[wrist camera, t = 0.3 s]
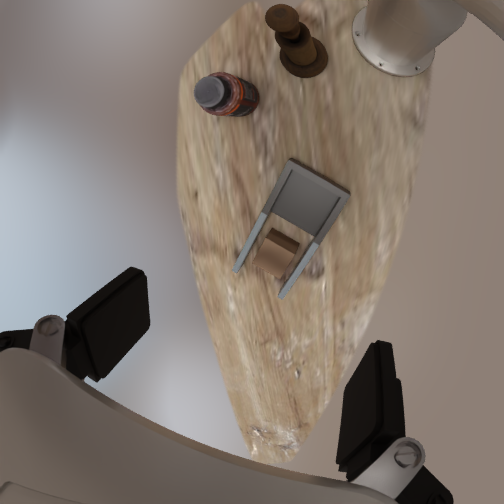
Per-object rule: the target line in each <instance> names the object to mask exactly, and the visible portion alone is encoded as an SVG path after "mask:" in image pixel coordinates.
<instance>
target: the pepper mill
mask: <svg viewBox="0 0 504 504" xmlns="http://www.w3.org/2000/svg"><path fill="white" fill-rule="evenodd" d="M265 20H266V23H267V24H268V26H269V27H270V28H271V29H273V30H275V31H276V32H275V39H276V42H277V43H278V44H279V46H280V47H281V49H280V60H281V63H282V64H283V66H284V67H285V68H286V69H287V70H288V71H289V72H290V73H291V74H293V75H295V76H298V77H302V78H308V77H313V76H316V75H318V74H319V73H321V72H322V71H323V70H324V68H325V67H326V65H327V61H328V56H327V52H326V49H325V47H324V46H323V44H322V43H321V42H320V41H319V40H317V39H315V38H313V37H311V35H310V32H309V29H308V28H307V27H306V26H305V25H304V24H303V23H301V22H299V16H298V13H297V12H296V10H295V9H293V8H292V7H290V6H288V5H284V4H278V5H274V6H272V7H271V8H269V10H268V11H267V12H266V16H265Z"/></svg>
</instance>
